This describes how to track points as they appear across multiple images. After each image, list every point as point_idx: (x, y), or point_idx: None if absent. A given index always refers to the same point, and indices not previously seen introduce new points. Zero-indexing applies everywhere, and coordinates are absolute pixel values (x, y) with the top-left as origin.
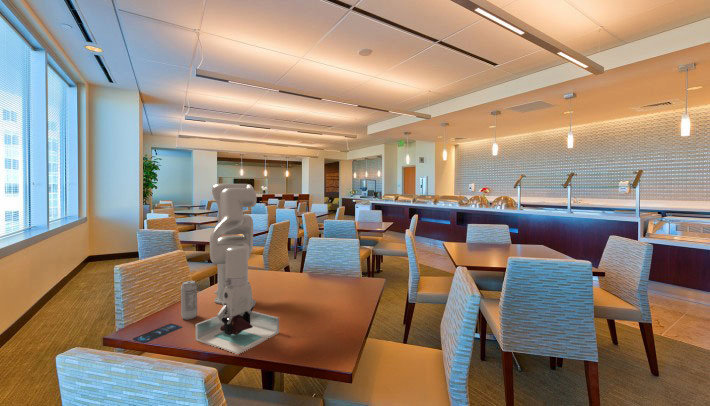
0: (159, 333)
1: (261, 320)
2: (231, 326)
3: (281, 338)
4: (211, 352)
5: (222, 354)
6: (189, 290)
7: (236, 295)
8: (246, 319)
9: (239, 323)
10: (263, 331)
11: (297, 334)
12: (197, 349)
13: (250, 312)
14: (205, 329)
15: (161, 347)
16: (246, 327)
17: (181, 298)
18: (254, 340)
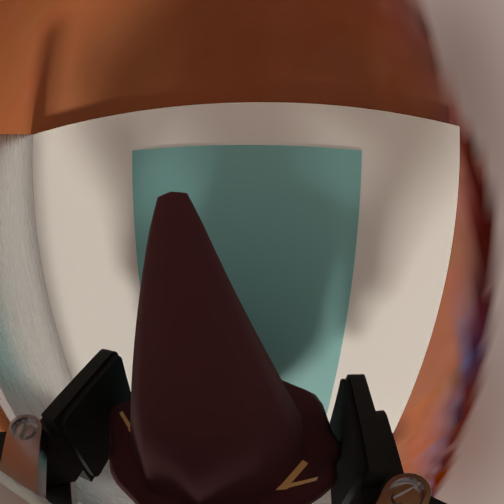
0: None
1: (11, 317)
2: (369, 439)
3: (78, 51)
4: (466, 339)
5: (475, 253)
6: None
7: None
8: (95, 417)
9: (253, 424)
10: (66, 232)
11: (21, 37)
12: (443, 421)
13: (18, 434)
14: None
15: (433, 496)
16: (227, 283)
17: None
18: (220, 155)
